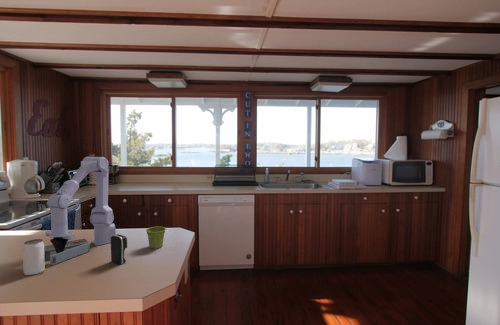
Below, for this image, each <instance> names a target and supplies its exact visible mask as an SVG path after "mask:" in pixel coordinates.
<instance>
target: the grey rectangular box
mask: <svg viewBox="0 0 500 325" xmlns="http://www.w3.org/2000/svg"><path fill="white" fill-rule="evenodd" d="M86 243H89V241H88V240H87V239H86V238H80V239H73V240H68V241H67V243H66V245H65V249H64V251H66V250H69V249H72V248H75V247H77V246H80V245H83V244H86ZM44 254H45V261H49V260H50V256H51V255H54V254H57V253H56V250H55V248H54V246H53V244H48V245H44Z"/></svg>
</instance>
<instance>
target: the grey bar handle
mask: <svg viewBox="0 0 500 325" xmlns="http://www.w3.org/2000/svg"><path fill="white" fill-rule="evenodd" d="M90 247H91V246H90V242H88V243H86V244H83V245H80V246H77V247H75V248H72V249H69V250H66V251H63V252H60V253H57V254H54V255H51V256H50V261H49V262H50V263H49V264H50V266H54V265H56V264H59V263H61V262H65V261H67V260H69V259H72V258H76V257H77V256H80V255H83V254H85V253H88V252H90V250H91V248H90Z"/></svg>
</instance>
